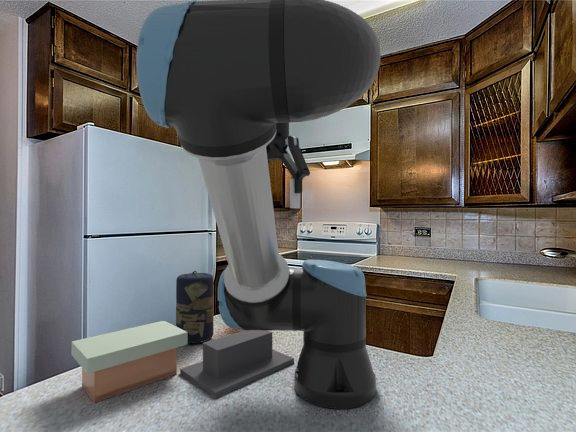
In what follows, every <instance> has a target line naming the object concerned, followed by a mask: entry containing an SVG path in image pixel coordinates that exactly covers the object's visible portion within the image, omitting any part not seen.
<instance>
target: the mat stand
mask: <svg viewBox="0 0 576 432" xmlns="http://www.w3.org/2000/svg"><path fill="white" fill-rule="evenodd" d="M294 363H295V358H294V357H292V356H289V355H287V354H286V353H285V354H284V353H282V352H280V351H277V350H275V349H273V332H272V331H271V330H249V331H245V330H241V331H238V332H235V333H230V334H228V335H227V334H226V335H224V336H222V337H217V338H214V339H211V340H209V341H208V340H206V341H203V342H202V361H200V362H197V363H193V364H191V365H189V366H185V367H182V368H180V369H179V373H180V375H181V376H182V377H184V378H185V379H186V380H188V381H190V382H191V383H192V384H194V385H195V386H197V387H198V388H200V389H202V390H203V391H204V392H206V394H208V395H210V396H211V397H213V398H214V399H217V398H219V397H221V396H223V395H225V394H228V393H230V392H233V391H235V390H237V389H239V388H241V387H243V386H246V385H249V384H250V383H252V382H254V381H255V382H256V380H260V379H261V378H263V377H265V376H269V375H270V374H273V373H275V372H276V371H279V370H282V369H284V368H286V367H288V366H291V365H293V364H294Z"/></svg>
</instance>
